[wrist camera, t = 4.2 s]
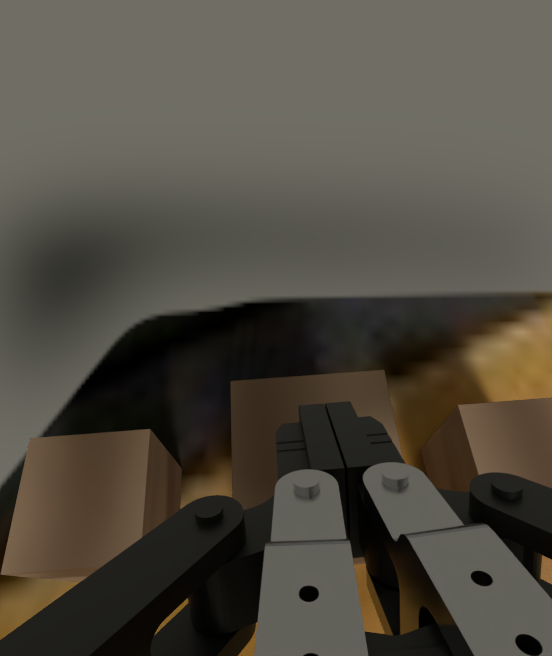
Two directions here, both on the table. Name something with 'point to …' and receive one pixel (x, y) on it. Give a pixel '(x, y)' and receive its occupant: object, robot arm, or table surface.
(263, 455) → the plain pillar
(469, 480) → the block one
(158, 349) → the table surface
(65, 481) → the block seven
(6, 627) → the table surface
